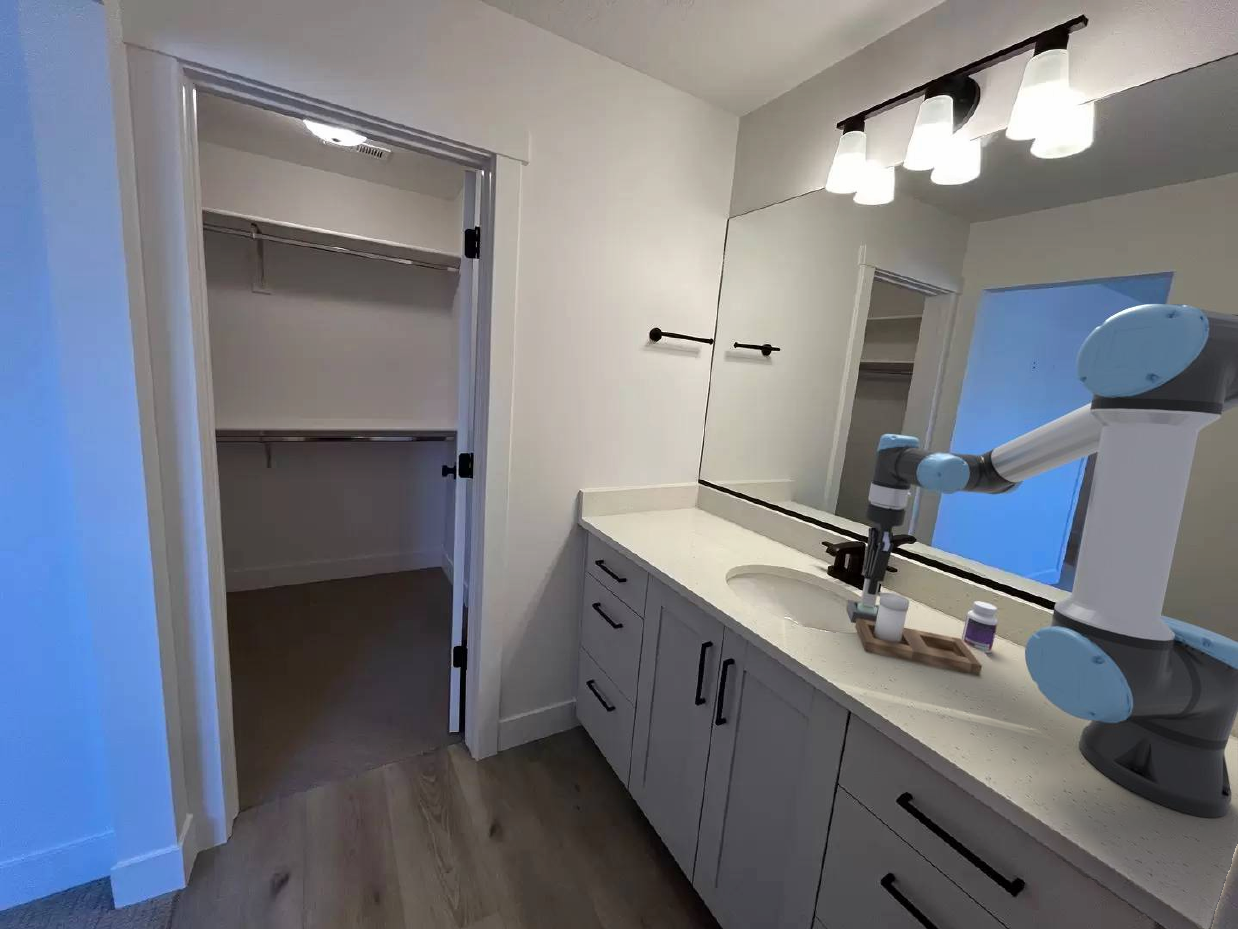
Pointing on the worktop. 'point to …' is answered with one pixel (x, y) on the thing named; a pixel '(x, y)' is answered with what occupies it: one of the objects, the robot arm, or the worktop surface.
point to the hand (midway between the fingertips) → (867, 605)
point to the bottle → (891, 617)
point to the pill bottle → (980, 626)
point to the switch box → (859, 612)
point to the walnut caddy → (921, 648)
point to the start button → (866, 609)
